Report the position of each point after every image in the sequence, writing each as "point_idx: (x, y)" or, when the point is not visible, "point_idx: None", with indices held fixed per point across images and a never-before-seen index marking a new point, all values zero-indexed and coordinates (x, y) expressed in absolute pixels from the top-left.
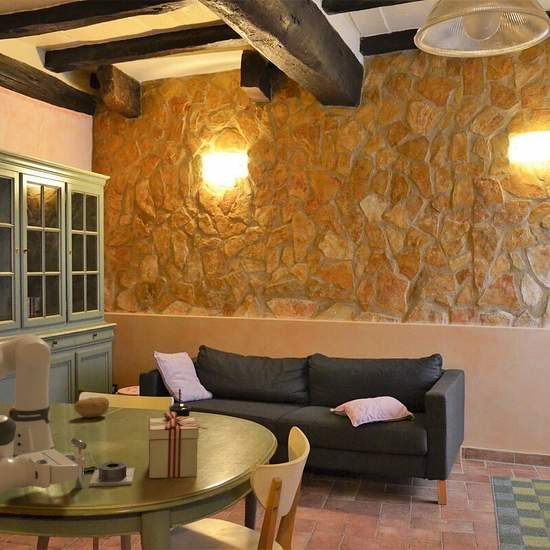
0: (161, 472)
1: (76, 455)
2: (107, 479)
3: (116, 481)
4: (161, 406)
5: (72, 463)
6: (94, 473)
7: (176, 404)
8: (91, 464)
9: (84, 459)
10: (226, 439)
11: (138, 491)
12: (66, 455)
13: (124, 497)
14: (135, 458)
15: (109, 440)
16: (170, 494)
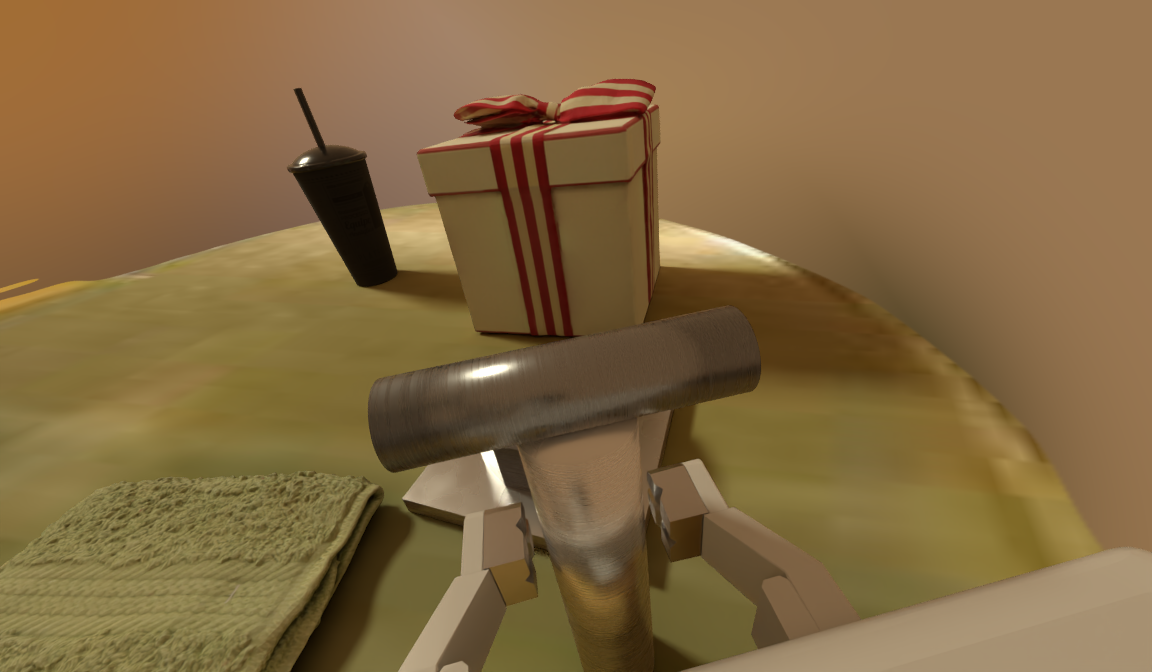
0: (644, 298)
1: (632, 517)
2: None
3: (660, 428)
4: (48, 288)
5: (1142, 622)
6: (465, 509)
7: (318, 149)
8: (344, 499)
9: (703, 467)
10: (428, 230)
11: (777, 379)
12: (448, 654)
13: (866, 430)
14: (374, 358)
15: (76, 407)
16: (824, 311)
